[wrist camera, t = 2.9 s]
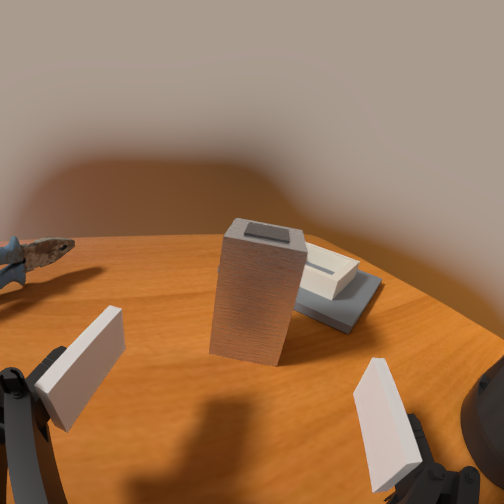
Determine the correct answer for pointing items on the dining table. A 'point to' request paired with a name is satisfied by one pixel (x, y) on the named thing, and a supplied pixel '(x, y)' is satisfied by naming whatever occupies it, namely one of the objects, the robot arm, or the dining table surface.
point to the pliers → (30, 257)
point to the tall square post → (256, 290)
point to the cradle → (334, 289)
